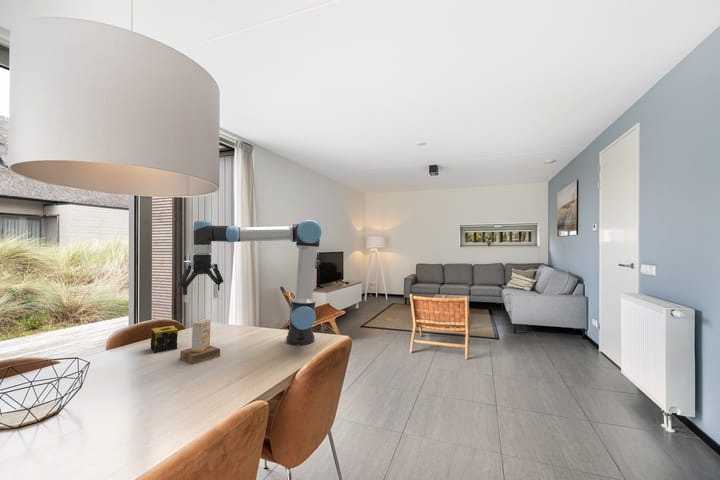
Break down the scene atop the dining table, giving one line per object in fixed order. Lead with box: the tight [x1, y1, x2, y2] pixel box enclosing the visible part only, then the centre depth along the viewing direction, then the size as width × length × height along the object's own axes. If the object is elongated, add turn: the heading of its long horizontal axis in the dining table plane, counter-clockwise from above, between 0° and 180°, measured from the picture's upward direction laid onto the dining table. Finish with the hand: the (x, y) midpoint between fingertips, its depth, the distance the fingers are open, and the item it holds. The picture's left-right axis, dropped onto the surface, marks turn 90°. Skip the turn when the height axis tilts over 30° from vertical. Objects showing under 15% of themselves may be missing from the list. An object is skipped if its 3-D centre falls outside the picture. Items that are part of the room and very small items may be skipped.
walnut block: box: [180, 345, 221, 365], centre depth 143 cm, size 12×12×4 cm
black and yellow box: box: [150, 325, 179, 354], centre depth 155 cm, size 10×10×10 cm
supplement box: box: [191, 318, 212, 352], centre depth 144 cm, size 8×5×13 cm, turn 1°
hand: (201, 299), depth 144 cm, fingers open, 13 cm apart
